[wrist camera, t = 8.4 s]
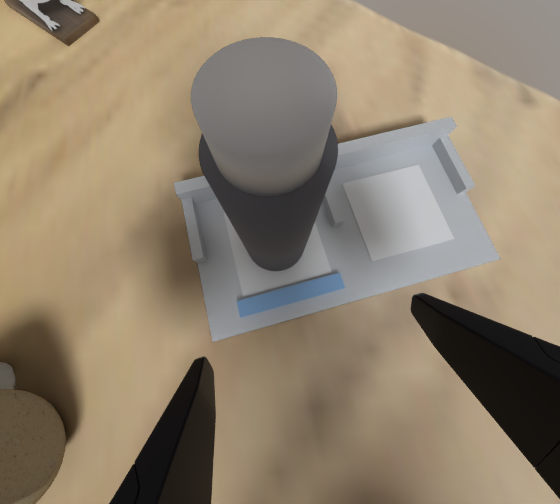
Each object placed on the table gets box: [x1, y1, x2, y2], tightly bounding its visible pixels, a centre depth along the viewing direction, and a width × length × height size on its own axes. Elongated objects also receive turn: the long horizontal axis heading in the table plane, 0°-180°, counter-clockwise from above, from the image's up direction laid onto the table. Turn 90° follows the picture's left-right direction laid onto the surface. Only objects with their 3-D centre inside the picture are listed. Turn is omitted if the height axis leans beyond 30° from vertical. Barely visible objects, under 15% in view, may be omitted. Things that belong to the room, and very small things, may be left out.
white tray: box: [174, 117, 500, 342], centre depth 18 cm, size 23×12×2 cm, turn 105°
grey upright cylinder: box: [191, 37, 338, 271], centre depth 12 cm, size 5×5×13 cm
